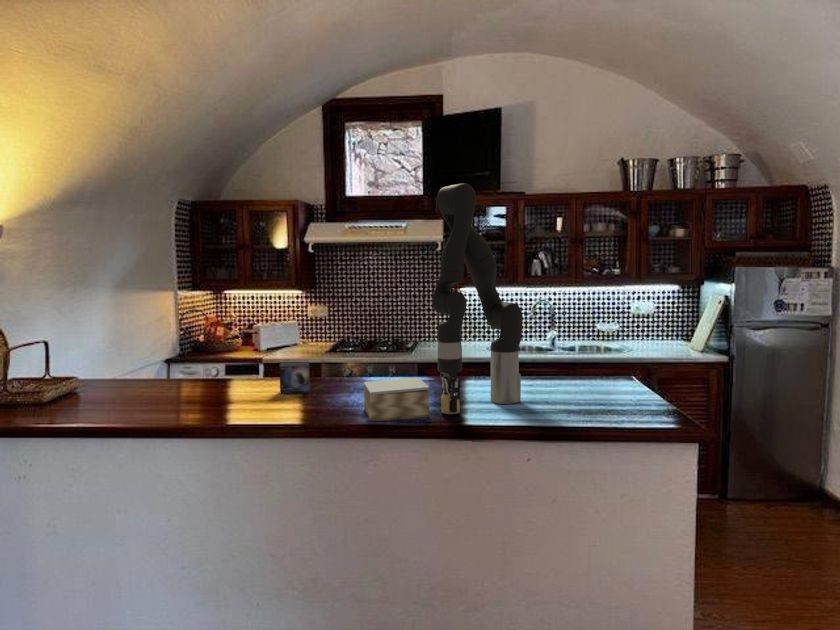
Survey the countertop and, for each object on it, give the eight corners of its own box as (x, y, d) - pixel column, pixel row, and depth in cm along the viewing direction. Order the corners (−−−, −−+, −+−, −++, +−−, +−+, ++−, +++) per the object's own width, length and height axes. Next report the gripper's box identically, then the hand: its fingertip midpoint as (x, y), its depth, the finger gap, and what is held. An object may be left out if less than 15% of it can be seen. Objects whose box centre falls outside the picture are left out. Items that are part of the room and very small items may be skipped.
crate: (418, 405, 195) (418, 381, 194) (429, 417, 181) (429, 391, 180) (364, 409, 191) (363, 384, 190) (370, 421, 177) (370, 395, 176)
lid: (418, 379, 194) (418, 377, 194) (429, 389, 180) (429, 387, 180) (363, 384, 190) (363, 382, 190) (370, 395, 176) (370, 392, 176)
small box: (279, 395, 211) (278, 366, 209) (280, 391, 217) (279, 362, 216) (310, 393, 213) (309, 364, 212) (309, 389, 219) (309, 361, 218)
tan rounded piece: (456, 408, 188) (456, 392, 187) (461, 413, 182) (461, 397, 182) (439, 410, 187) (439, 394, 186) (444, 414, 181) (444, 398, 181)
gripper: (468, 359, 176) (469, 414, 178) (454, 351, 190) (455, 402, 192) (444, 360, 175) (445, 416, 177) (432, 352, 189) (432, 404, 191)
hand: (450, 409), depth 184 cm, fingers closed on tan rounded piece, 5 cm apart
